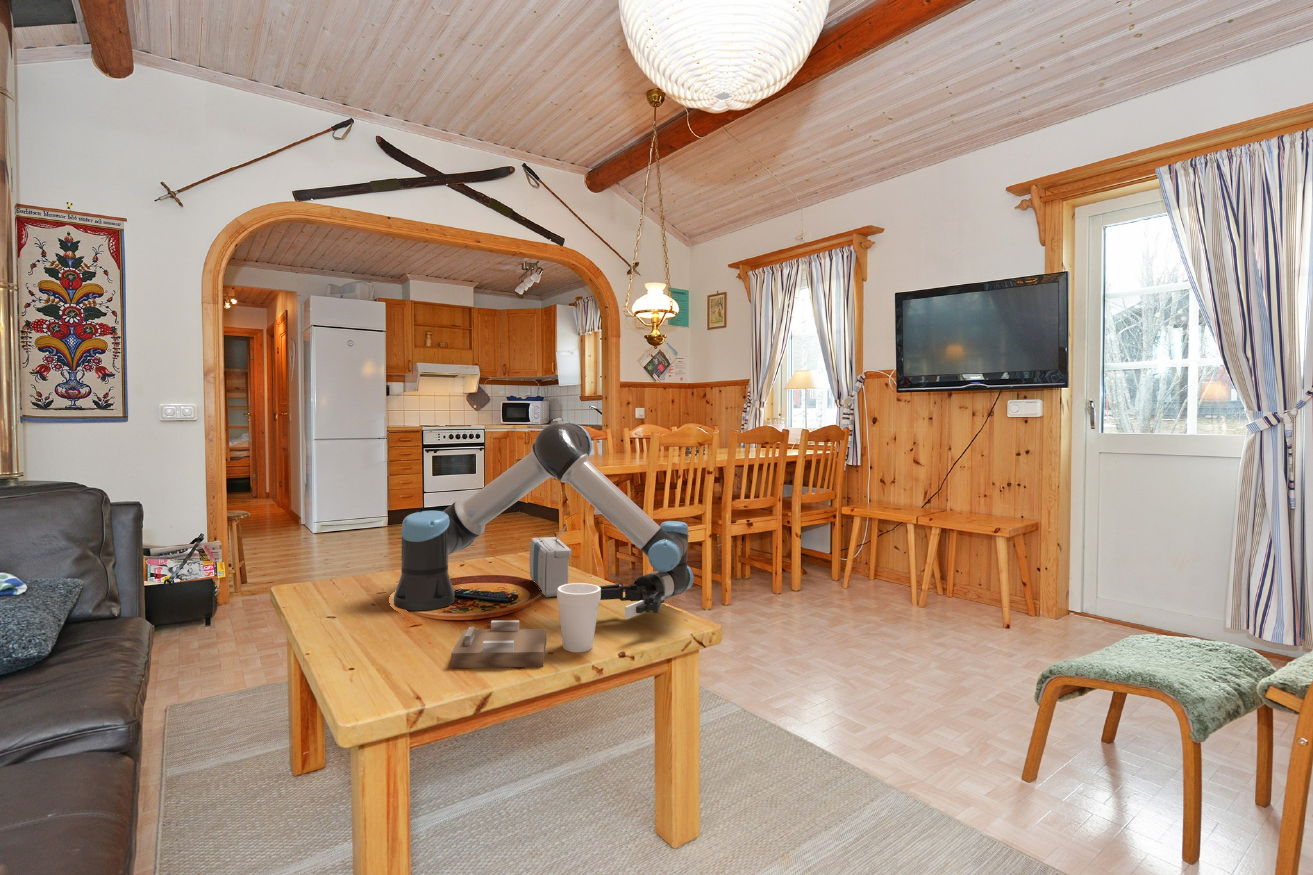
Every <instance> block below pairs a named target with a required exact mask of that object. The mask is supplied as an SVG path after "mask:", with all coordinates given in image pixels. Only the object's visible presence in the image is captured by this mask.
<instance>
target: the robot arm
mask: <svg viewBox="0 0 1313 875" xmlns="http://www.w3.org/2000/svg"><path fill="white" fill-rule="evenodd" d="M592 444H593V442H592V438H591V436H590V434H589V431H588V430H586V429H585V428H584V427H583V426H581V425H579V424H577V423H573V422H565V423H553V424H550V425H548V426H545V427H544V428H543V429H542V430H541V431H540V432H539V433H538V435H537V436H536V438H535V440H534V442H533V443H532V444H531V446H530V447H531V448H530V453H528V454H527V455H525V456H524V457H522V458H521V459H520V460H519V461H517V462H516V463H515V464H513V465H512V466H511V467H509V468H508V469H507V470H505V471H504V472H502V473H501V474H500V475H498V476H497V477H496V478H494V479H493V480H492V481H491V482H489V483H488V484H486V485H485V486H484V487H483V488H481V489H479V490H478V491H477V492H476V493H474V494H472V496H470V497H469V498H468V499H466V500H465V499H461V498H460V499H456V501H455V502H453V503H452V504H450V505H449V506H448V507H447V508H445V509H444V510H423V511H416V512H414V513H410V514H408V515H407V516H405V517H404V518H403V521H402V524H401V531H400V536H401V564H400V565H401V570H400V571H401V572H400V573H401V574H400V578H399V580H398V584H397V586H396V589H395V592H394V595H393V606H394V607H396V608H397V609H401V610H405V611H429V610H436V609H441V608H445V607H448V606H451V605H452V604H454V602H455V590H454V587H453V584H452V581H451V578H450V574H449V555H451V554H454V553H456V552H458V551H459V552H460V551H461V550H464V549H466V548H468V547H469V546H471V544H472V543H473V542H474V541H475V540H476V538H478V537H479V536H481V535H482V534H483V533H484V532H485V528H486V525H487V524H488V523H489V522H491V521H493V519H495V518H496V517H497V516H498V517H499V515H500V514H501V513H503V512H504V511H506V510H507V509H508V508H510V507H511V506H513V505H514V504H515V503H517V502H518V501H519V500H521V499H522V498H523V497H525V496H526V495H528V494H529V493H530V492H532V491H533V490H534V489H536V488H537V487H538V486H540V485H542V484H543V483H544V482H545V481H547V480H548V479H549V478H551V479H557V480H558V481H559V482H560V483H568V484H569V485H570V486H571V488H573V489H574V490H575V491H576V492H577V493H578V494H579V495H581V496H582V498H584V499H585V500H586V501H587V502H588V503H589V504H590V505H592V507H594V509H596V510H597V512H599V513H600V514H601V515H602V517H603V516H604V518H605V519H606V520H607V521H609V522H610V524H612V525H613V526H615V528H616V529H617V530H618V531H619V532H621V534H622V535H624V536H625V537H626V538H627V539H628V540H629V541H630V542H631V543H633V545H635V547H637V548H638V549H639V550H640V551H641V552H642V553H643V554H644V555H645V556H646V557H647V559H648V562H649V564H650V566H651V567H652V569H654V570H655V571H652V572H649V573H647V574H644V575H641V576H639V577H636V580H635V581H634V582H633V584H629V585H624V583H622V582H618V583H615V584H608V585H607V584H606V585H598V586H599V587H600V588H601V599H600V601H606V600H607V601H608V600H609V601H610V600H619V601H620V602H623V601H626V602H627V601H630V602H632V603H631V604H630V603H629V604H628V605H626V606H624V619H625V620H629V619H631V618H634V617H636V616H638V615H640V614H642V613H651V611H652V613H653V614H658V613H659V611H660V608H661V605H663V604H664V603H665V601H666V599H667V600H668V599H669V598H672V597H674V596H677V595H681V594H683V593H684V592H686V591H688V590H690V588H692V586H693V583H694V579H695V576H694V574H693V573H694V572H693V571H692V569H691V567H690V566H689V565H688V550H689V546H688V545H689V536H690V535H689V527H688V526H689V525H688V524H687V523H686V522H685V521H684V522H683V521H677V520H675V521H674V520H673V521H672V520H667V521H663V522H661V524H660V525H659V524H658V523H656V521H655V520H654V519H652V518H651V517H650V516H649V515H648V514H647V513H646V512H645V511H644V510H643V509H642V508H641V507H639V506H638V505H637V504H636V503H635V502H634V501H633V500H632V499H631V498H630V497H629V496H628V495H627V494H625V493H624V492H623V491H622V490H621V489H620V488H619V487H618V486H617V485H615V484H614V483H613V481H611V480H610V479H609V478H608V477H607V476H606V475H604V473H602V472H601V471H600V470H599V469H598V468H597V467H596V466H595V465H594V464H593V463H592V462H591V461H589V456H590V454H591V452H592V449H593V448H592V447H593V445H592Z"/></svg>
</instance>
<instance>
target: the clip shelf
mask: <svg viewBox="0 0 1313 875" xmlns="http://www.w3.org/2000/svg"><path fill="white" fill-rule="evenodd" d="M546 645H547V628H523V629H522V628H520V620H519V619H517V620H516V619H514V620H510V619H509V620H507V619H506V620H505V619H504V620H491V621H490V629H476V628H475V626H469V627H468V629H463V630H462V632H461V634H460V636H459V638H458V640H457V642H456V644H455V646H454V649H453V650H452V652H451V669H468V668H469V669H476V668H477V669H479V668H480V669H482V668H483V669H484V668H489V669H490V668H536V667H537V668H538V667H539V668H540V667H544V664H545V663H544V662H545V655H546V653H545V652H546Z"/></svg>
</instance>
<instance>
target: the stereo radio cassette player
mask: <svg viewBox="0 0 1313 875" xmlns="http://www.w3.org/2000/svg"><path fill="white" fill-rule="evenodd" d="M567 527H568V524H565V526H564V527H563V529H562V530H561V531H560V533H558V535H557V536H551V537H550V536H549V537H547V536H543V537H533V538H531V539H530V544H529V576H530V578H531V580H532V581H533V582H534V581H535V583H537V585H539V586H540V588H541V590H542V592H541V594H542V595H544V597H546V598H549V597H557V589H558V587H559V586H562V585H565V584H569V565H570V564H569V563H570V562H569V560H570V557H572V553H573V551H572V549H571V548H569V547H568V546H567V545H566V544H565V543H564V542H563V541H562V540H560V537H561V535H562V534H563V533H564V531H565V529H566V528H567ZM535 583H534V584H535ZM537 585H536V586H537Z"/></svg>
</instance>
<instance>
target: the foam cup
mask: <svg viewBox="0 0 1313 875" xmlns="http://www.w3.org/2000/svg"><path fill="white" fill-rule="evenodd" d="M599 586H600V585H597V584H593V583H586V582H572V583H568V584H565V585H562V586H559V587H558V589H557V596H556V600H557V602H558V603H557V604H558V612H559V622H560V630H561V639H562V648H563V650H565V651H566V652H571V653H584V652H588V651H591V650H592V649H593V645H594V639H595V638H594V637H595V631H596V626H597V619H598V611H599V607H600V606H599V605H600V601H601V600H600V599H601V588H600V587H599Z"/></svg>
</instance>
